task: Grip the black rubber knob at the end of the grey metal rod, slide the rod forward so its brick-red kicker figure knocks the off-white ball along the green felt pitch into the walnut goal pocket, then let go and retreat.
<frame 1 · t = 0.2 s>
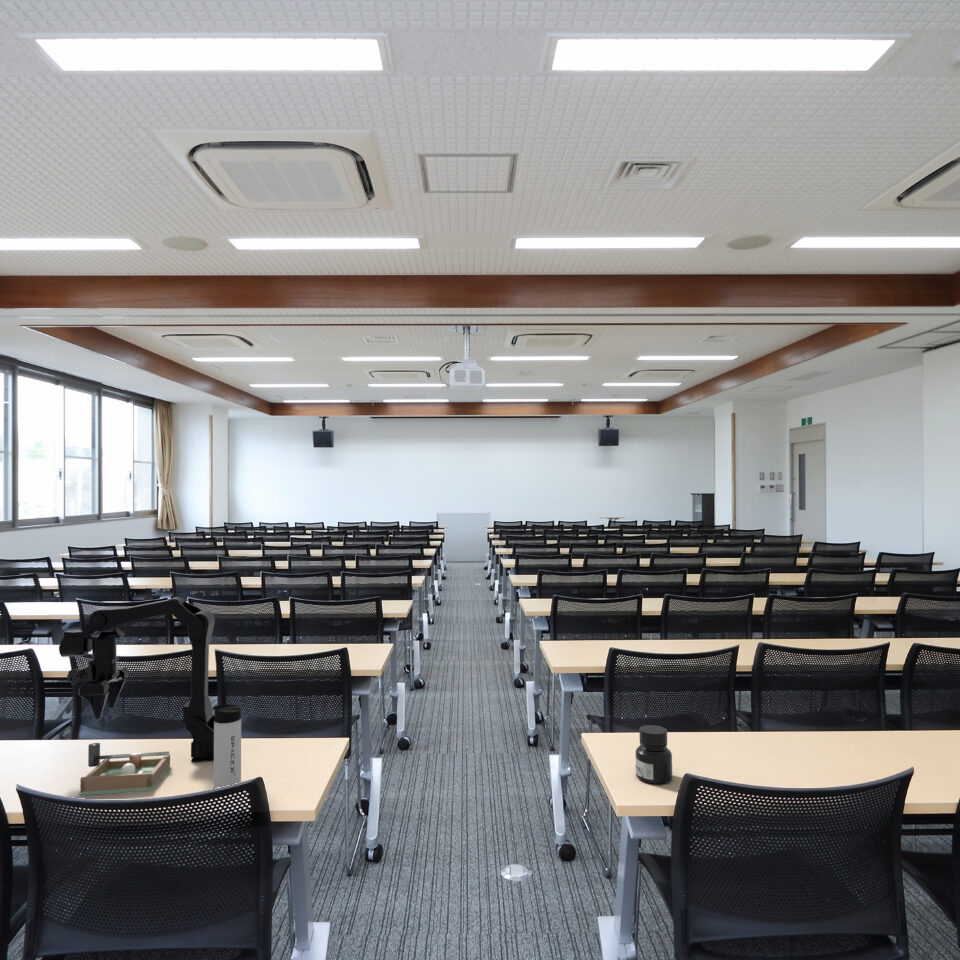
hand: (104, 712, 181), 13 cm above the table, fingers open, 9 cm apart
rod: (129, 755, 174), point 4 cm above the table, slide at 0.0 cm
pitch: (127, 780, 169), on the table
ink bottle: (654, 778, 168), on the table
ball: (128, 769, 170), point 2 cm above the table, touching pitch
travel mug: (226, 789, 164), on the table
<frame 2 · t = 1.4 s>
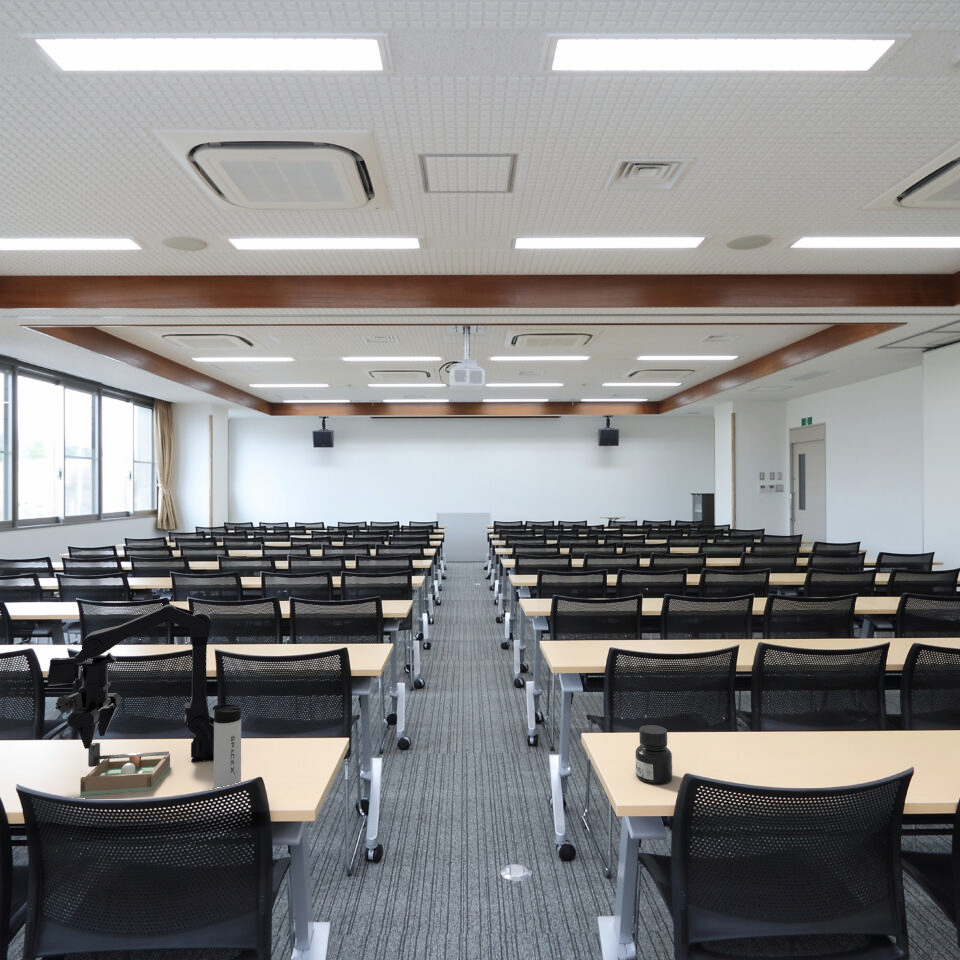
hand: (94, 742, 173), 8 cm above the table, fingers open, 9 cm apart
nothing on the table moved.
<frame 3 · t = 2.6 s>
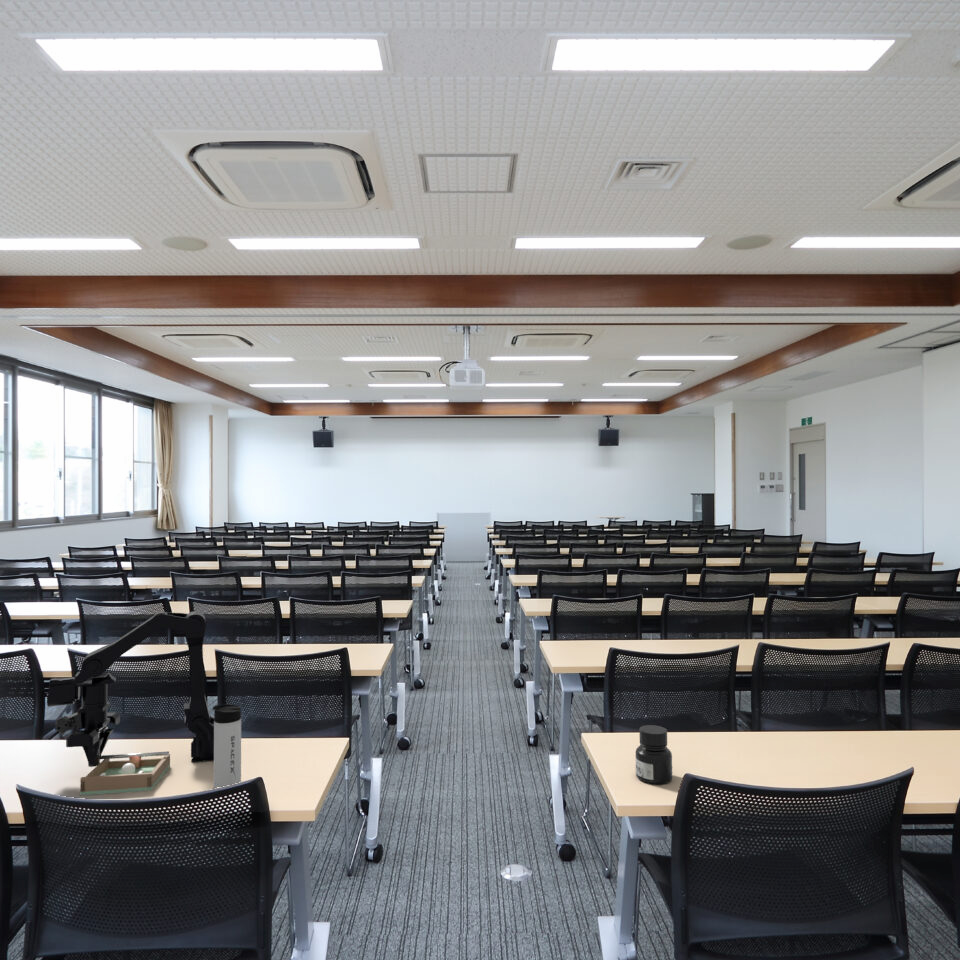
hand: (94, 762, 173), 3 cm above the table, fingers closed on rod, 3 cm apart
rod: (129, 755, 174), point 4 cm above the table, slide at 0.0 cm, touching gripper
everything else where it was.
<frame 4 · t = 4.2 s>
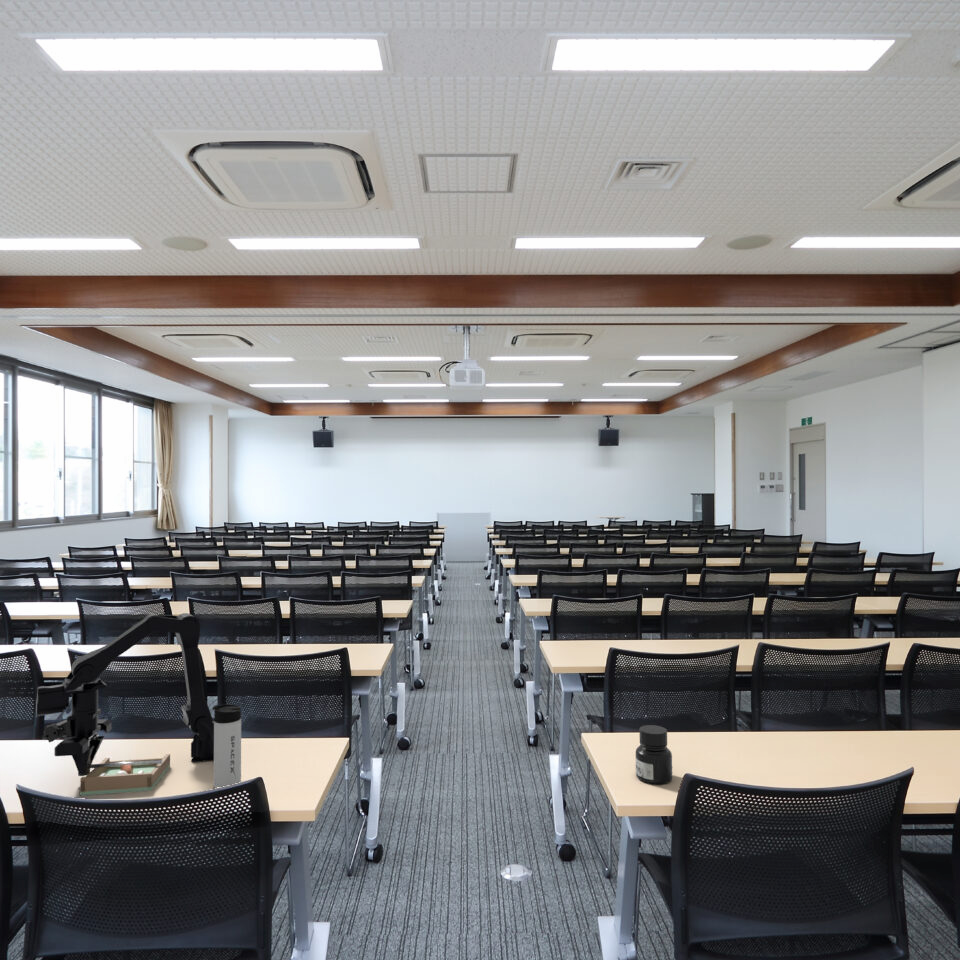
hand: (84, 771, 167), 3 cm above the table, fingers closed on rod, 3 cm apart
rod: (120, 763, 169), point 4 cm above the table, slide at 5.9 cm, touching gripper
ball: (120, 777, 165), point 2 cm above the table, tilted 173°, touching pitch
everything else where it was.
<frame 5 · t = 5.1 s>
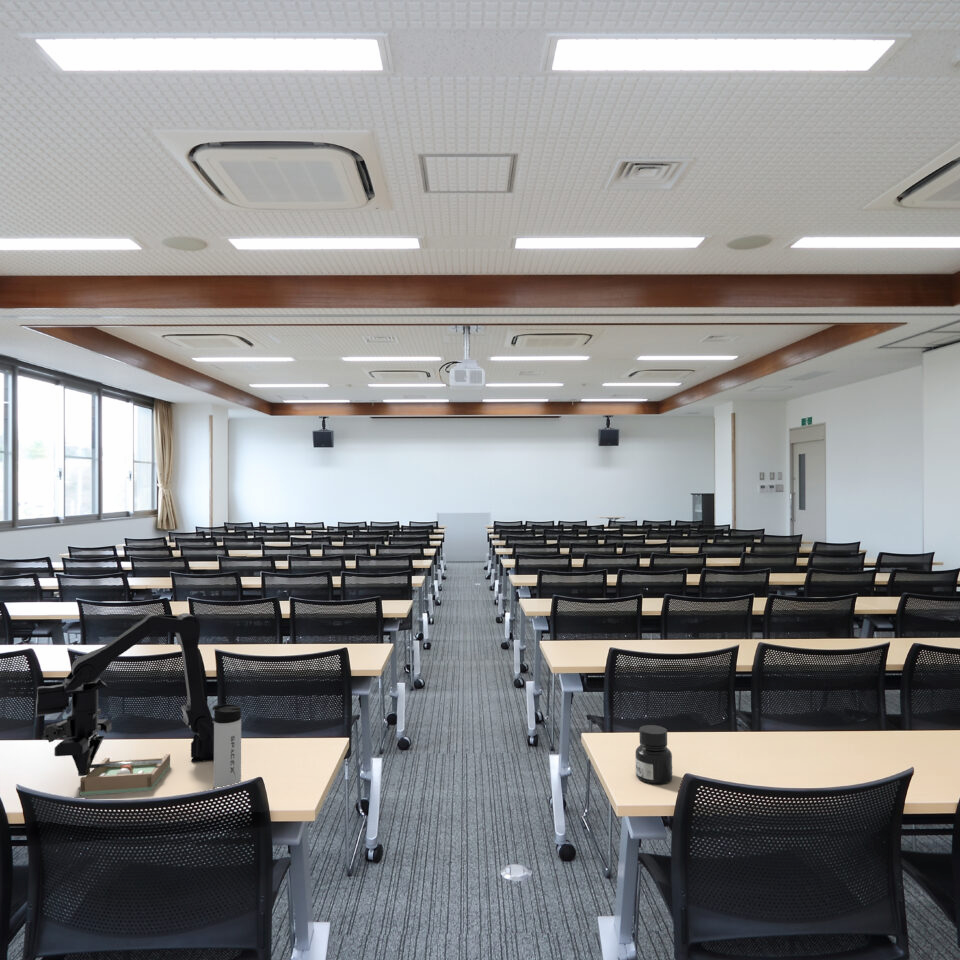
hand: (84, 771, 167), 3 cm above the table, fingers closed on rod, 3 cm apart
rod: (120, 763, 169), point 4 cm above the table, slide at 5.9 cm, touching gripper
ball: (123, 775, 166), point 2 cm above the table, tilted 118°, touching pitch
everything else where it was.
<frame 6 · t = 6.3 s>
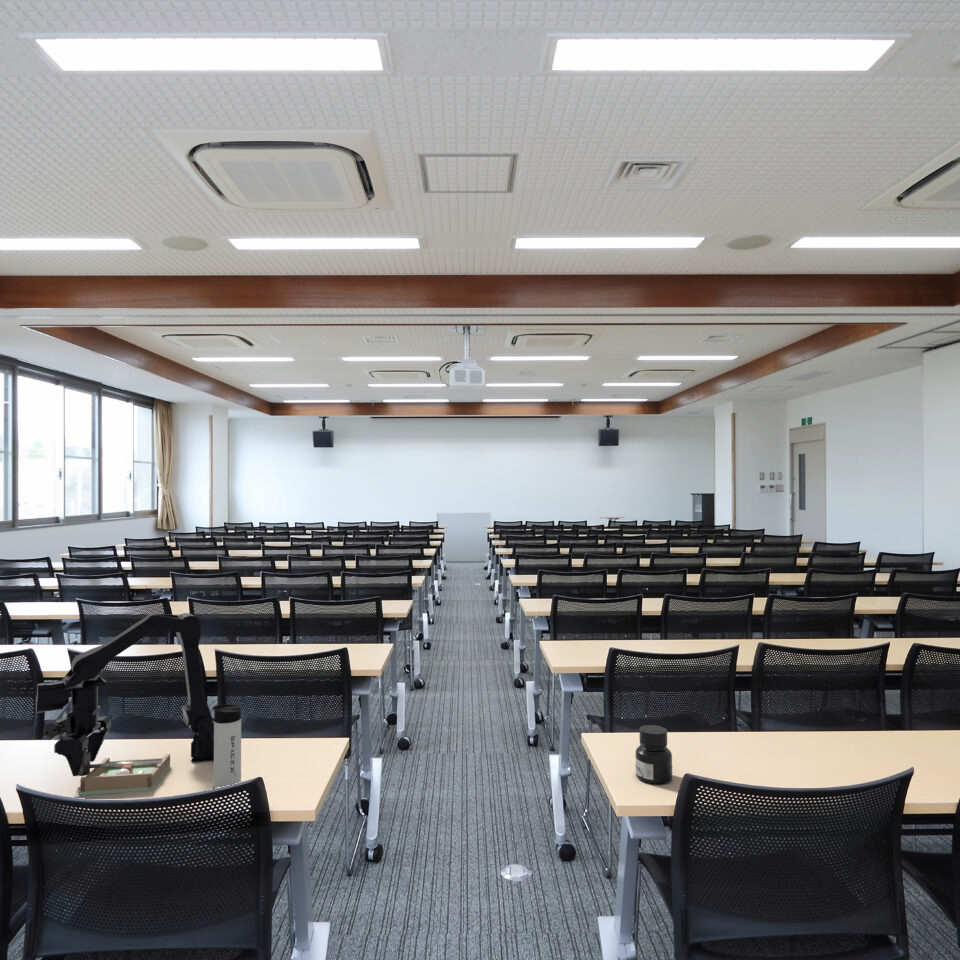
hand: (84, 768, 167), 4 cm above the table, fingers open, 9 cm apart
rod: (120, 763, 169), point 4 cm above the table, slide at 5.9 cm
ball: (122, 775, 166), point 2 cm above the table, tilted 127°, touching pitch
everything else where it was.
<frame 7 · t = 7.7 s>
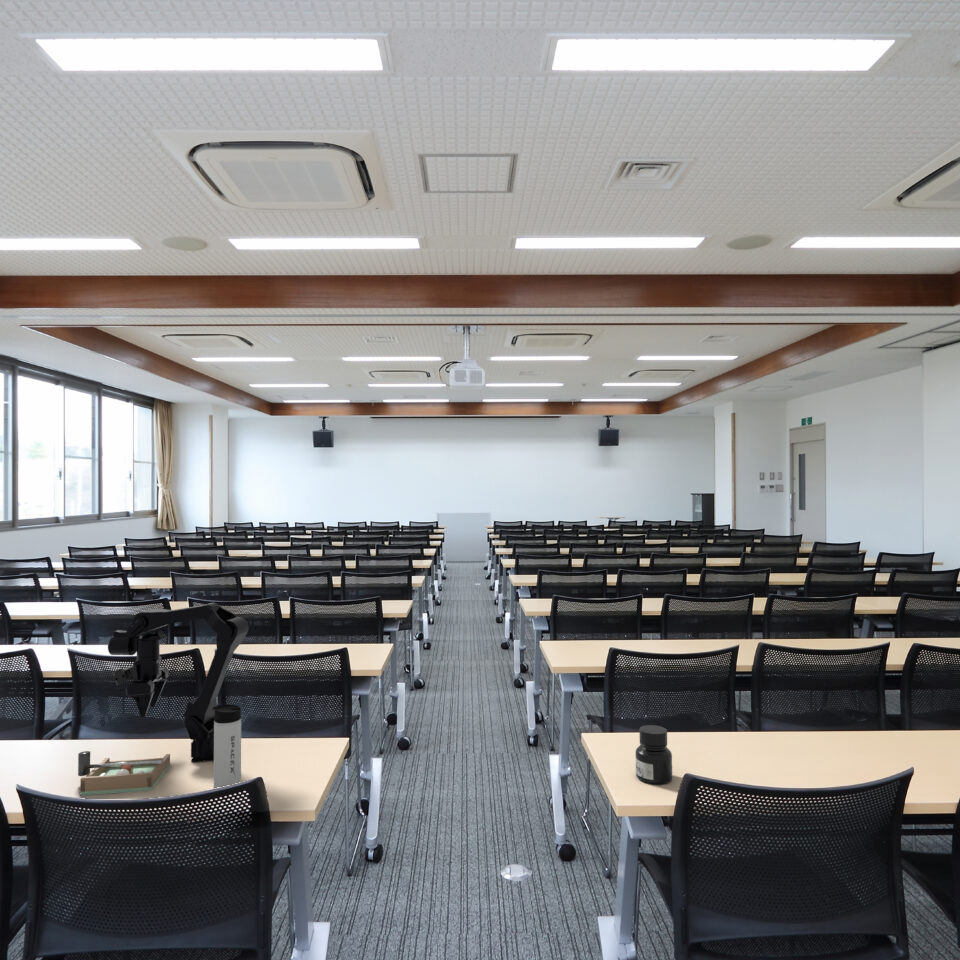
hand: (148, 711, 186), 12 cm above the table, fingers open, 9 cm apart
ball: (122, 775, 166), point 2 cm above the table, tilted 136°, touching pitch
everything else where it was.
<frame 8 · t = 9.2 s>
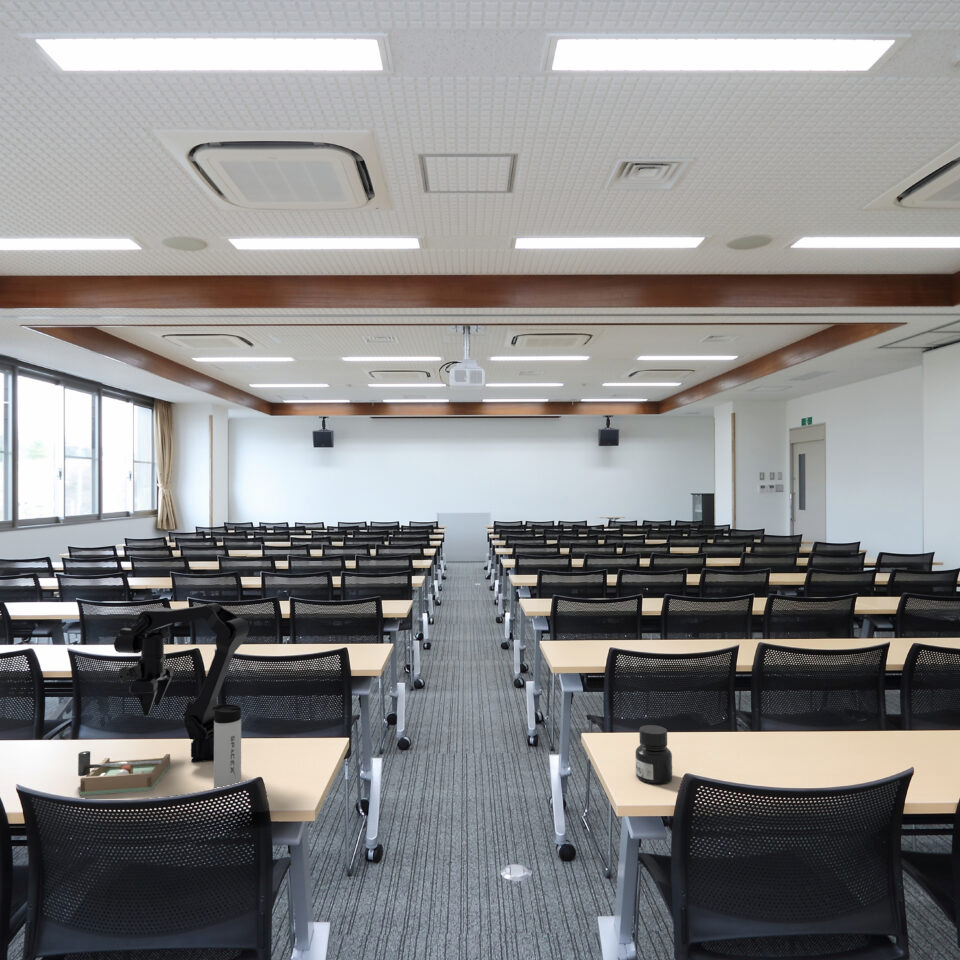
hand: (152, 709, 188), 12 cm above the table, fingers open, 9 cm apart
ball: (122, 776, 165), point 2 cm above the table, tilted 147°, touching pitch
everything else where it was.
at the end: ball 0.8 cm from the target spot on the pitch, point 2.4 cm above the pitch's base; rod slide at 5.9 cm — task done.
